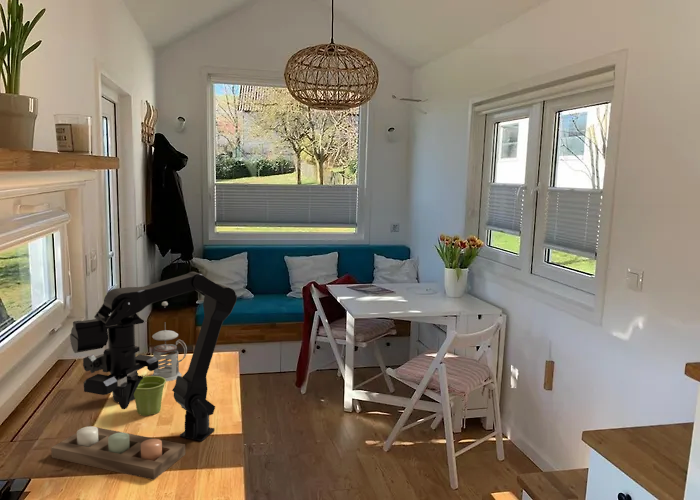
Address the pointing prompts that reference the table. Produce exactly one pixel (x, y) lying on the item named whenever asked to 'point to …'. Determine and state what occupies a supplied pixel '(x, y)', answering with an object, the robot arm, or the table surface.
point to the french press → (169, 370)
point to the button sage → (118, 442)
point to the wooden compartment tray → (119, 455)
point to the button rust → (151, 449)
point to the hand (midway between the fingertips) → (124, 408)
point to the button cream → (87, 436)
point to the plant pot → (149, 395)
